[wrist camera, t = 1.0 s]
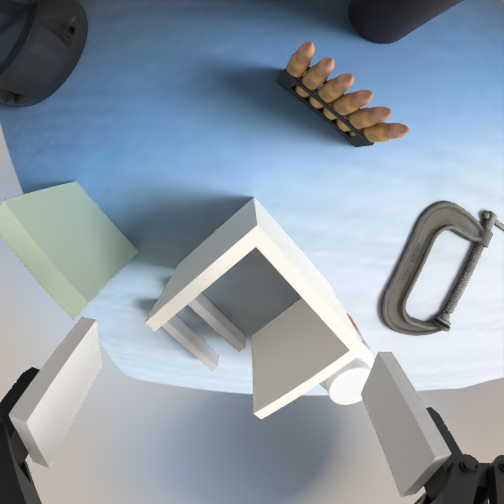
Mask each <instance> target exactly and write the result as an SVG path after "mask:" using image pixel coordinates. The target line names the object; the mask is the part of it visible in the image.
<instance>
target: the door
mask: <svg viewBox="0 0 504 504" xmlns="http://www.w3.org/2000/svg"><path fill="white" fill-rule="evenodd" d="M0 235H1V236H2V237H3V239H4V240H5V241H6V242H7V244H8V245H9V247H10V248H11V249H12V251H13V252H14V253H15V254H16V255H17V257H18V258H19V259H20V261H21V262H22V263H23V264H24V266H25V267H26V268H27V269H28V270H29V271H30V273H31V274H32V275H33V277H34V278H35V279H36V280H37V281H38V282H39V284H40V285H41V286H42V287H43V288H44V289H45V290H46V291H47V293H48V294H49V295H50V296H51V297H52V298H53V299H54V300H55V302H56V303H58V305H59V306H60V307H61V308H62V309H63V310H64V311H65V312H66V313H67V314H68V315H69V316H70V317H71V318H72V319H73V320H74V319H75V318H76V317H77V315H78V314H79V313H80V312H81V311H82V310H83V309H84V308H85V307H86V306H87V305H88V304H89V303H90V301H91V300H92V299H93V298H94V297H95V296H96V295H97V294H98V293H99V292H100V291H101V290H102V289H103V288H104V287H105V286H106V285H107V284H108V283H109V282H110V281H111V280H112V279H113V278H114V277H115V275H116V274H117V273H118V272H119V271H120V270H121V269H122V268H123V267H124V266H125V265H126V264H127V263H128V262H129V261H130V260H131V259H132V258H133V257H134V256H135V255H136V254H137V253H138V252H139V250H138V249H137V248H136V247H135V246H134V245H133V244H132V243H131V242H130V241H129V240H128V239H127V238H126V237H125V236H124V234H123V233H122V232H121V231H120V230H119V229H118V228H117V227H116V226H115V225H114V224H113V222H112V221H111V220H110V219H109V218H108V217H107V216H106V215H105V213H104V212H103V211H102V210H101V209H100V208H99V207H98V206H97V204H96V203H95V202H94V201H93V200H92V199H91V198H90V196H89V195H88V194H87V193H86V192H85V191H84V189H83V188H82V187H81V186H80V185H79V184H78V182H77V181H74V182H70V183H66V184H62V185H57V186H53V187H49V188H45V189H42V190H38V191H34V192H30V193H27V194H23V195H19V196H16V197H12V198H9V199H6V200H3V201H2V203H1V205H0Z"/></svg>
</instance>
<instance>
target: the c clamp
mask: <svg viewBox="0 0 504 504" xmlns="http://www.w3.org/2000/svg"><path fill="white" fill-rule="evenodd" d="M483 217H484V218H485V222H484V224H483V227H482V226H481V225H480V223H479V222H478V221H477V220H476V219H475V218H474V217H473V216H472V215H471V214H470V213H469V212H467V211H466V210H464V209H463V208H461V207H460V206H458V205H456V204H455V203H452V202H439V203H435V204H433V205H432V206H430V207H429V208H428V209H426V210H425V211H424V212H423V214H422V215H421V216H420V218H419V220H418V222H417V224H416V226H415V229H414V231H413V233H412V236H411V238H410V240H409V243H408V245H407V247H406V249H405V252H404V254H403V256H402V258H401V260H400V263H399V265H398V267H397V269H396V271H395V273H394V275H393V277H392V279H391V282H390V284H389V286H388V288H387V290H386V292H385V294H384V297H383V301H382V316H383V319H384V321H385V323H386V324H387V325H388V327H389V328H391V329H392V330H394V331H396V332H399V333H402V334H406V335H414V336H418V335H428V334H432V333H436V332H439V331H441V330H443V331H449V330H450V327H449V326H450V325H451V324H450V322H449V318H450V315H449V314H450V313H453V312H452V311H454V309H455V307H456V305H457V303H458V301H459V299H460V297H461V295H462V294H463V292H464V290H465V288H466V286H467V284H468V281H469V279H470V277H471V275H472V273H473V271H474V268H475V266H476V264H477V262H478V260H479V257H480V255H481V253H482V251H483V248H484V247H488V245H489V243H490V240H491V238H492V235H493V233H492V232H490V231H491V229H492V227H493V225H494V224H495V225H497V226H498V227H499V228H501V229H502V230H503V231H504V225H503V224H502V223H500V222H499V221H498V220H496V218H497V215H496V214H494V213H493V212H491V211H488V212H484V213H483ZM445 230H451V231H453V232H455V233H456V234H458V235H460V236H462V237H463V238H465V239H467V240H469V241H474V242H476V244H475V246H474V249H473V251H472V253H471V255H470V259H469V260H468V262H467V264H466V266H465V269H464V271H463V273H462V275H461V277H460V279H459V281H458V283H457V285H456V287H455V289H454V291H453V294H452V295H451V297H450V299H449V301H448V303H447V305H446V307H445V312H442V313H441V314H440V315H438V316H435V319H434V321H433V322H432V323H429V322H423V321H420V320H417V319H414V318H411V317H410V316H409V315H408V314H407V312H406V309H405V306H406V301H407V299H408V296H409V295H410V293H411V291H412V289H413V287H414V285H415V283H416V281H417V278H418V276H419V274H420V272H421V270H422V268H423V266H424V264H425V262H426V259H427V257H428V255H429V253H430V251H431V248H432V246H433V243H434V241H435V239H436V238H437V236H438V235H439V234H440V233H441V232H443V231H445Z"/></svg>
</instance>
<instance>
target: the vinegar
mask: <svg viewBox="0 0 504 504" xmlns="http://www.w3.org/2000/svg"><path fill="white" fill-rule="evenodd" d="M461 1H463V0H352V2H351V4H350V7H349V15H350V19H351V22H352V23H353V25H354V26H355V28H356V30H358V31H359V32H360V33H361V34H362V35H363V36H364V37H366V38H368V39H369V40H371V41H374V42H377V43H380V44H390V43H393V42H396V41H398V40H399V39H401V38H403V37H404V36H406V35H407V34H409V33H410V32H412V31H413V30H415V29H416V28H418V27H420V26H421V25H423V24H424V23H426V22H428V21H429V20H431V19H433V18H434V17H436V16H438V15H439V14H441V13H443V12H444V11H446V10H448V9H449V8H451V7H453V6H454V5H456V4H458V3H460V2H461Z"/></svg>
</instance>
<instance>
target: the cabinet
mask: <svg viewBox="0 0 504 504" xmlns="http://www.w3.org/2000/svg"><path fill="white" fill-rule="evenodd" d="M255 247H257V248H258V249H259V251H260V252H261V253H262V254H263V255H264V256H265V257H266V258H267V259H268V260H269V262H270V263H271V264H272V265H273V266H274V267H275V268H276V269H277V270H278V271H279V273H280V274H281V275H282V276H283V277H284V278H285V279H286V280H287V281H288V282H289V283H290V285H291V286H292V287H293V288H294V289H295V290H296V291H297V292H298V293H299V295H300V296H301V297H302V298H300V299H299V300H298V301H297V302H295V303H294V304H293V305H291V306H290V307H289V308H288V309H286V310H285V311H284V312H282V313H281V314H280V315H278V316H277V317H276V318H275V319H273V320H272V321H271V322H269V323H268V324H267V325H265V326H264V327H263V328H261V329H260V330H259V331H257V332H256V333H254V334H253V335H252V366H253V407H254V408H253V410H254V414H255V415H256V416H258V417H259V418H260V419H262V418H264V417H266V416H268V415H269V414H271V413H272V412H274V411H276V410H278V409H279V408H281V407H283V406H284V405H286V404H288V403H289V402H291V401H292V400H294V399H296V398H297V397H299V396H301V395H302V394H304V393H305V392H307V391H309V390H310V389H312V388H313V387H315V386H316V385H318V384H319V383H321V382H322V381H324V380H325V379H327V378H328V377H330V376H331V375H333V374H334V373H335V372H337V371H338V370H340V369H341V368H343V367H344V366H345V365H347V364H348V363H350V362H351V361H352V360H354V359H355V358H357V357H358V356H359V355H361V354H362V353H363V352H365V351H366V348H365V346H364V344H363V342H362V340H361V339H360V337H359V335H358V333H357V331H356V330H355V328H354V326H353V324H352V323H351V321H350V319H349V317H348V315H347V314H346V312H345V310H344V308H343V307H342V305H341V303H340V301H339V300H338V298H337V296H336V295H335V293H334V291H333V289H332V288H331V286H330V284H329V283H328V282H327V281H326V280H325V279H324V277H323V276H322V275H321V274H320V273H319V271H318V270H317V269H316V268H315V267H314V265H313V264H312V263H311V262H310V261H309V260H308V258H307V257H306V256H305V255H304V254H303V253H302V251H301V250H300V249H299V248H298V247H297V246H296V244H295V243H294V242H293V241H292V240H291V239H290V237H289V236H288V235H287V234H286V233H285V232H284V231H283V229H282V228H281V227H280V226H279V225H278V224H277V223H276V221H275V220H274V219H273V218H272V217H271V216H270V215H269V213H268V212H267V211H266V210H265V209H264V208H263V207H262V205H261V204H260V203H259V202H258V201H257V200H256V199H255V198H254V197H253V198H252V199H251V200H250V201H249V202H247V203H246V204H245V205H244V206H243V207H242V208H240V209H239V210H238V211H237V212H236V213H235V214H234V215H232V216H231V217H230V218H229V219H228V220H227V221H226V222H225V223H223V224H222V225H221V226H220V227H219V228H218V229H217V230H215V231H214V232H213V233H212V234H211V235H210V236H209V237H208V238H207V239H205V240H204V241H203V242H202V243H201V244H200V245H199V246H198V247H197V248H195V249H194V250H193V251H192V252H191V253H190V254H189V255H188V256H187V257H185V258H184V259H183V260H182V261H181V262H180V263H179V264H178V266H177V268H176V269H175V271H174V273H173V274H172V276H171V278H170V279H169V281H168V283H167V285H166V286H165V288H164V290H163V292H162V293H161V295H160V297H159V299H158V300H157V302H156V303H155V304H154V305H153V307H152V309H151V310H150V312H149V316H148V318H147V320H146V322H145V323H146V324H147V325H148V326H149V327H150V328H151V329H152V330H153V331H154V332H155V331H156V330H158V329H159V328H160V327H161V326H162V327H163V328H164V329H165V330H166V331H167V332H168V333H169V334H170V335H171V336H173V337H174V338H175V339H176V340H177V341H178V342H179V343H180V344H181V345H183V346H184V347H185V348H186V349H187V350H188V351H189V352H190V353H192V354H193V355H194V356H195V357H196V358H197V359H199V360H200V361H201V362H202V363H203V364H204V365H206V366H207V367H208V368H209V369H210V370H211V371H212V370H214V369H215V368H216V367H218V361H219V354H218V353H217V352H216V351H215V350H214V349H213V348H212V347H210V346H209V345H208V344H207V343H206V342H205V341H204V340H203V339H202V338H200V337H199V336H198V335H197V334H196V333H195V332H194V331H193V330H192V329H191V328H190V327H188V326H187V325H186V324H185V323H184V322H183V321H182V320H181V319H180V318H179V317H178V316H177V315H176V314H177V313H178V312H179V311H180V310H181V309H183V308H184V307H185V306H186V305H187V304H188V305H189V306H190V307H191V308H192V309H193V310H194V311H195V312H196V313H197V314H198V315H199V316H200V317H201V318H203V319H204V320H205V321H206V322H207V323H208V324H209V325H210V326H211V327H212V328H213V329H214V330H215V331H216V332H218V333H219V334H220V335H221V336H222V337H223V338H224V339H225V340H226V341H227V342H228V343H230V344H231V345H232V346H233V347H234V348H235V349H236V350H237V351H238V352H239V351H241V350H242V349H243V348H245V338H246V335H245V334H244V333H242V332H241V331H240V330H239V329H238V328H237V327H236V326H235V325H234V324H233V323H232V322H231V321H230V320H229V319H228V318H227V317H226V316H225V315H224V314H223V313H222V312H220V311H219V310H218V309H217V308H216V307H215V306H214V305H213V304H212V303H211V302H210V301H209V300H208V299H207V298H206V297H205V296H204V295H203V294H202V293H201V292H203V291H204V290H205V289H206V288H207V287H209V286H210V285H211V284H212V283H213V282H215V281H216V280H217V279H218V278H219V277H220V276H222V275H223V274H224V273H225V272H226V271H228V270H229V269H230V268H231V267H232V266H234V265H235V264H236V263H237V262H238V261H239V260H241V259H242V258H243V257H244V256H245V255H247V254H248V253H249V252H250V251H251V250H253V249H254V248H255Z"/></svg>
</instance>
